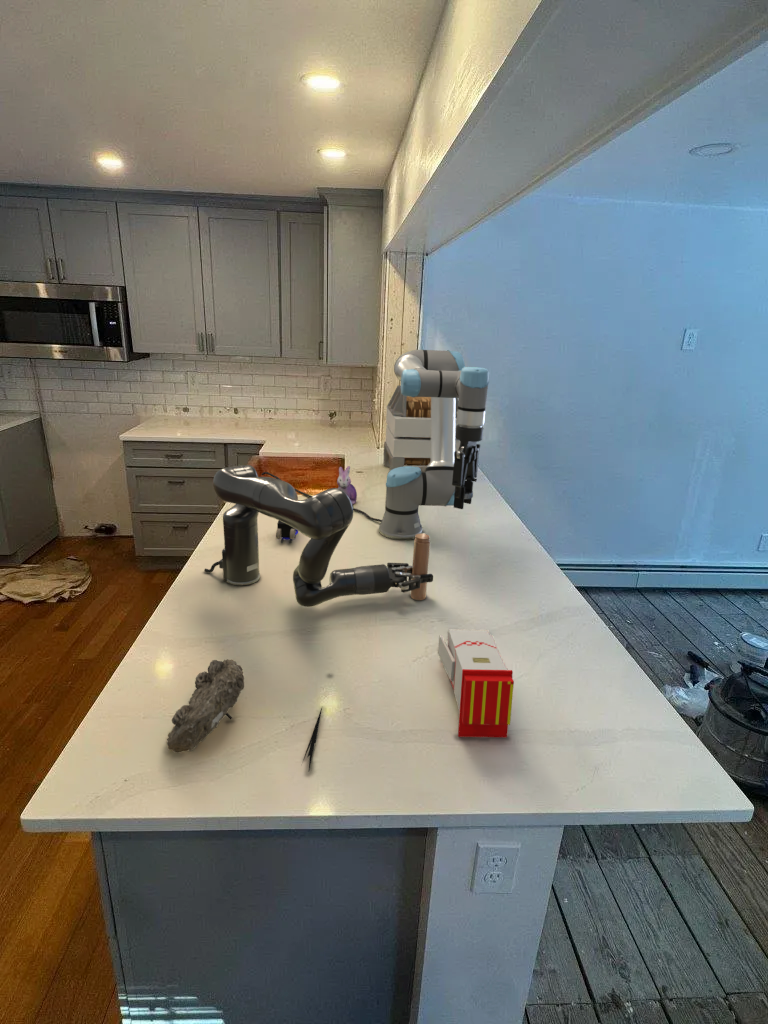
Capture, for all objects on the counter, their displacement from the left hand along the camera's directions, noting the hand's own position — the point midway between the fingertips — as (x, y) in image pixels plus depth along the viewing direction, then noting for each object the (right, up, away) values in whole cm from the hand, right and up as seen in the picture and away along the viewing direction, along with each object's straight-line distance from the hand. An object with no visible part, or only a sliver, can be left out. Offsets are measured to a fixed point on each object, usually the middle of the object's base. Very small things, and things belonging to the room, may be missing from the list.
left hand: (428, 573), depth 156 cm
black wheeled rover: (-45, +8, +37) cm, 58 cm away
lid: (+11, +23, +6) cm, 26 cm away
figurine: (-28, +21, +73) cm, 81 cm away
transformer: (+5, +36, +119) cm, 125 cm away
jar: (-3, -6, +1) cm, 7 cm away
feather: (-25, -23, -47) cm, 58 cm away
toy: (+6, -21, -37) cm, 43 cm away
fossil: (-45, -22, -48) cm, 69 cm away
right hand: (+10, +19, +8) cm, 23 cm away
